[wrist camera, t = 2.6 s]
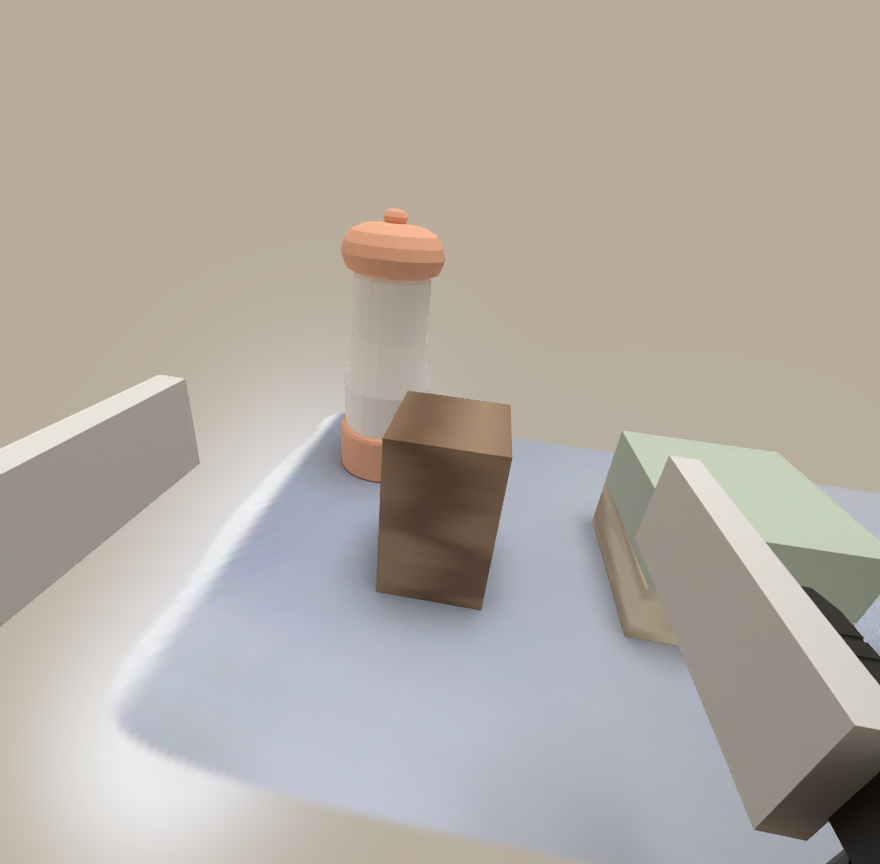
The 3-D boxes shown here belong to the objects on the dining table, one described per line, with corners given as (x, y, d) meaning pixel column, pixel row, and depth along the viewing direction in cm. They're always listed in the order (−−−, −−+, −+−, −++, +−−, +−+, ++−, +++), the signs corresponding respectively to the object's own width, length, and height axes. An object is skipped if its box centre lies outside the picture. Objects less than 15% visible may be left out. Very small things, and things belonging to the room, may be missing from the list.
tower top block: (750, 501, 30) (777, 452, 28) (856, 623, 21) (905, 562, 19) (605, 480, 31) (622, 430, 29) (649, 590, 22) (677, 528, 20)
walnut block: (485, 538, 30) (510, 405, 25) (480, 610, 24) (512, 457, 20) (398, 524, 30) (407, 390, 25) (376, 591, 25) (382, 438, 20)
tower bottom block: (728, 546, 32) (752, 503, 30) (814, 675, 23) (854, 624, 21) (591, 524, 33) (605, 480, 31) (622, 640, 24) (645, 588, 22)
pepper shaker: (441, 454, 39) (469, 216, 30) (397, 493, 33) (415, 212, 24) (374, 430, 41) (382, 205, 33) (322, 463, 36) (314, 200, 27)
